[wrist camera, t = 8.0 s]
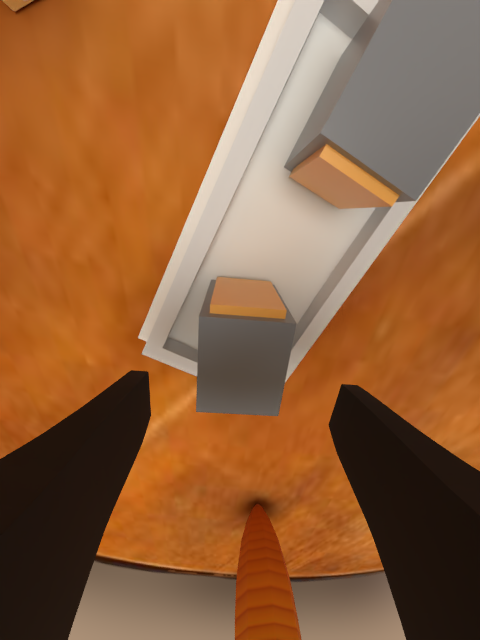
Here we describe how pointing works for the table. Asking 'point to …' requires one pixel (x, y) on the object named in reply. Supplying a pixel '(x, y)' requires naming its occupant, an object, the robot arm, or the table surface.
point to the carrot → (263, 585)
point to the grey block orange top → (243, 347)
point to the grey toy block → (393, 105)
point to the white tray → (273, 196)
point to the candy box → (16, 4)
